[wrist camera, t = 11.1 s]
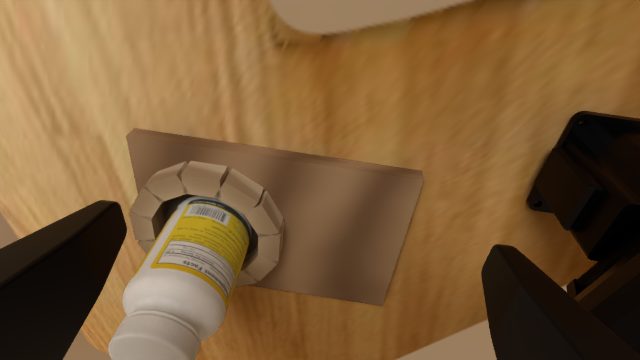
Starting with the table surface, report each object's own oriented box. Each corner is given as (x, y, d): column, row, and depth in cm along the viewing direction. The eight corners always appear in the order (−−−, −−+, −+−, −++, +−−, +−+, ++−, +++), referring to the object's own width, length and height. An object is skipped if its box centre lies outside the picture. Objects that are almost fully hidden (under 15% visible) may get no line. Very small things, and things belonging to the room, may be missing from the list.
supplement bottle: (207, 260, 28) (144, 396, 20) (159, 207, 25) (65, 339, 17) (268, 239, 26) (226, 380, 18) (224, 180, 24) (151, 314, 16)
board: (421, 171, 23) (427, 195, 21) (381, 295, 30) (382, 322, 28) (134, 128, 23) (112, 148, 21) (159, 261, 30) (144, 286, 28)
